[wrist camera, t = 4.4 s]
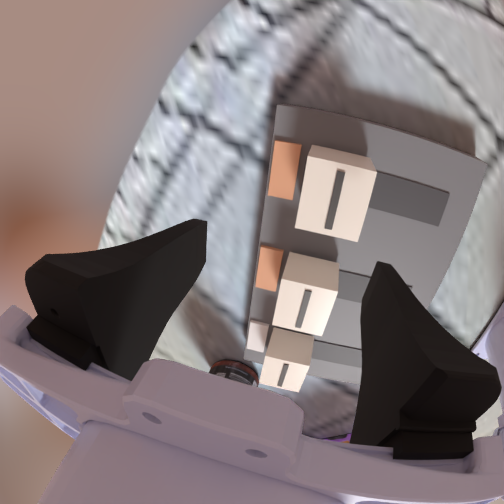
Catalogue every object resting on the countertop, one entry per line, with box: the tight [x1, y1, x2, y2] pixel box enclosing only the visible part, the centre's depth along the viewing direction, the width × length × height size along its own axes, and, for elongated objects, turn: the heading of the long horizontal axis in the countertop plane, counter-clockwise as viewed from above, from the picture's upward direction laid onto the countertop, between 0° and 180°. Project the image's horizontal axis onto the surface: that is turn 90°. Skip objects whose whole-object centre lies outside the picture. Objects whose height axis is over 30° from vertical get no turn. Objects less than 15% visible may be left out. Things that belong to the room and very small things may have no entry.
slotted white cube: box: [295, 145, 377, 242], centre depth 16 cm, size 4×4×3 cm
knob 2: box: [259, 327, 314, 392], centre depth 24 cm, size 4×4×3 cm
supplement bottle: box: [209, 360, 259, 387], centre depth 29 cm, size 6×6×11 cm
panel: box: [243, 103, 488, 385], centre depth 22 cm, size 14×23×2 cm, turn 174°
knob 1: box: [272, 252, 339, 336], centre depth 20 cm, size 4×4×3 cm
